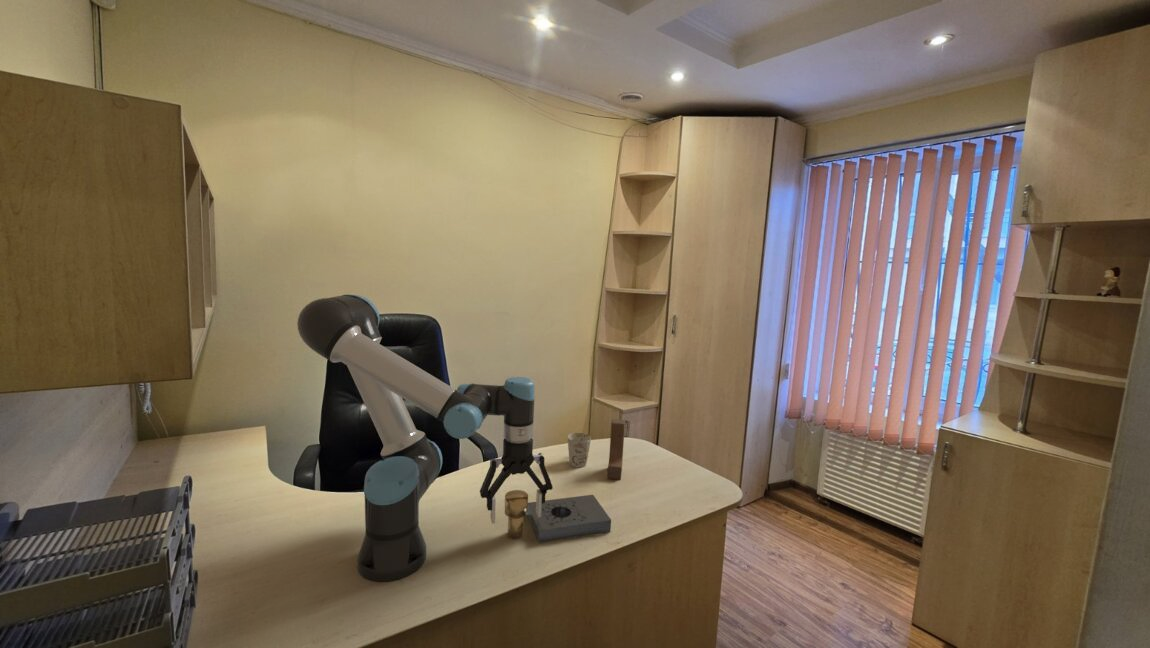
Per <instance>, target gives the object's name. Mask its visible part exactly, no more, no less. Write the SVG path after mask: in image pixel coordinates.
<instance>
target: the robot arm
mask: <svg viewBox="0 0 1150 648" xmlns="http://www.w3.org/2000/svg"><path fill="white" fill-rule="evenodd" d="M380 319H381V317H380V313H379V310H378V308H377V307H376V305H375V304H374V303H373V301H371V300H370V299H368V298H366V297H364V296H362V295H359V294H343V295H338V296H331V297H324V298H319V299H316V300H312V301H311V302H309V303H308V304H306V305H305V306H304V307H303V308H302V309H301V311H300V313H299V314H298V318H297V322H296V323H297V331H298V334H299V337H300V338H301V339H302V341H303V343H305V345H307V346H308V348H310V349H311V350H312V351H313V352H315V353H316V354H318V355H320V356H321V357H323V358H324V359H326V360H327V361H329V362H331V363H333V364H334V363H335V364H336V363H342V364H344V365H346V366H347V368H348V371H349V373H350V375H351V378H352V379H353V382H354V384H355V386H356V388H357V390H358V392H359V395H360V396H361V399H362V401H363V403H364V406H365V407H366V410H367V412H368V413H369V416H370V418H371V421H372V422H373V423H372V424H373V425H374V427H375V429H376V432H377V433H378V436H379V438H380V440H381V442H382V445H383V447H382V449H381V452H380V456H381V459H382V460H379V461H377V462H375V463H374V464H373V465H371V466H370V467H369V469H368V470H367V471H366V474H365V476H364V485H363V494H364V522H365V524H364V525H365V534H364V537H363V541H362V543H361V546H360V549H359V552H358V555H357V572H358V573H359V574H360V576H361V577H362V578H365V579H367V580H370V581H372V582H391V581H396V580H399V579H403V578H405V577H407V576H410V575H412V574H413V573H415V572H416V571H418V570H419V569H420V568H422V566H423V565H424V563H425V561H426V559H427V543H426V542H425V539H424V538H425V537H424V535H423V533H422V531H421V528H420V525H419V522H420V521H419V515H420V514H419V510H420V509H419V508H420V506H419V505H420V504H419V503H420V501H421V499H422V497H423V496H424V495H425V493H426V492H427V491H428V490H429V488H430V487H431V485H432V484H433V483H434V482H435V481H436V479H437V478H438V476H439V474H440V471H441V469H442V467H443V466H442V465H443V455H442V451H441V449H440V448H439V446H438V445H437V443H436V442H434V441H432V440H430V439H428V438H427V436H426V433H425V432H424V431H421V430H418V429H417V428H416V425H415V424H414V422H413V419H412V418H411V415H410V413H409V411H408V410H409V409H408V408H407V405H406V404H405V402H404V400H405V401H407V402H408V403H410V404H412V405H414V406H415V407H418V408H419V409H421V410H422V411H423V412H426V413H427V414H429V415H431V416H433V417H434V418H436V419H438V421H441V422H442V423H443V426H444V429H445V431H446V433H447V434H448V435H449V436H451V437H452V438H453V439H454V438H455V439H459V440H464V439H468V438H470V437H472V436H473V435H474V434H475V432H477V431H478V430H479V429H480V428H481V426H482V425H483V422H484V420H485V419H486V418H487V416H503V440H502V441H503V442H502V445H503V446H502V447H503V448H502V456H501V458H495V457H491V458H490V459H489V468H488V469H487V473H486V475H485V477H484V479H483V482H482V484H481V487H480V488H479V489H480V490H479V494H480V498H481V499H484V498H485V499H486V508H487V511H490V521H491V524H492V525H493V524H496V504H497V503H496V497H495V496H496V493H498V491H499V490H500V488H501V486H502V485H503V484H504V482H505V481H506V480H507V479H508V478H509V477H510V475H513V476H514V475H518V474H520V475H523V474H525V473H526V474H527V475H528V476H529V477H530V479H531V480H532V481H533V482H534V484H535V485H536V487H538V488H537V489H536V499H535V502H536V513H537V516H538V517H541V505H542V504H543V503H545V501H546V494H547V493H548V491H551V490H553V489H554V488H553V484H552V480H551V478H550V477H549V473H548V471H547V469H546V465H545V460H546V459H545V456H544V455H543V453H541V452H538V454H536V455H533V452H534V451H533V449H534V447H533V446H534V445H533V444H534V440H533V437H534V417H535V416H534V415H535V414H534V413H535V398H536V397H535V383H534V381H533V380H532V379H531V378H529V377H524V376H516V377H515V376H514V377H513V376H512V377H508V378H506V380H505V381H504V385H503V384H502V385H497V384H494V385H493V384H480V383H479V384H478V383H462V384H459V386H458V387H457V389H455V388H454V387H452V386H451V385H449V384H447V383H445V382H443V381H442V380H440V379H439V378H437V377H435V376H434V375H432V374H431V373H428V372H427V371H426V370H423V369H422V368H420V367H419V366H417V365H415V364H414V363H412V362H410V361H409V360H408V359H405V358H403V357H402V356H400V355H398V354H397V353H395V351H394V352H393V351H392V350H390V349H389V348H387V347H385V346H384V345H382V344H380V343H381V340H382V339H383V337H382V335H381V333H380V331H379V325H380V321H381V320H380ZM534 461H535V463H536V464H537V465H538V466H539V469H540V472H541V475H542V477H543V480H544V484H543V482H542V481H541V480H540V478H539V477H538V476H537V475H536V473H535V472H534V471H533V469H532V468H531V466H532V464H533V463H534ZM500 465H502V466H503V467H502V469H501V470H500V473H499V474H498V476H497V477H496V478H495V480H494V477H495V474H496V471H497V469H498V468H499V467H500ZM493 480H494V481H493ZM492 482H493V483H492Z"/></svg>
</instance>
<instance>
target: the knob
mask: <svg viewBox="0 0 1150 648" xmlns="http://www.w3.org/2000/svg"><path fill="white" fill-rule="evenodd" d="M528 503H529V494H528V493H527V492H526V491H525V490H521V489H514V490H510V491H507V492H506V493H505V494H504V515H505V516H506V517H508V518H507V537H508V538H509V539H511V540H519V539H522V538H523V536H524V517H525V516H527V513H528Z"/></svg>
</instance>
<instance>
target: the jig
mask: <svg viewBox="0 0 1150 648" xmlns="http://www.w3.org/2000/svg"><path fill="white" fill-rule="evenodd" d="M526 516H527V519H528V520H529V523H530V526H531V528H532V532H534V535H535V538H536V541H537V543H538V544H542V543H547V542H548V543H549V542H553V541H554V542H555V541H561V540H567V539H573V538H574V539H575V538H581V537H586V536H593V535H599V534H606V533H611V532H612V531H611V528H612V527H611V526H612V519H611V517H610V516H609V515H608V513H607V512H606V511H605V509H604V508H603V506H602V505H601V504H600V502H599V501H598V500H597V498H596V497H595V495H594V494H586V495H585V494H584V495H578V496H577V495H576V496H572V497H564V498H555V499H554V498H553V499H548V500H546V499H545V503H543V504H542V505H541V517H538V516H537V513H536V501H532V502H530V501H529V502H528V513H527V514H526Z"/></svg>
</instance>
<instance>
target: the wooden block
mask: <svg viewBox="0 0 1150 648" xmlns="http://www.w3.org/2000/svg"><path fill="white" fill-rule="evenodd" d="M625 426H626V421H625V419H618V418H612V420H611V424H610V439H609V458H608V465H607V466H608V467H607V479H610V480H611V479H612V480H622V473H623V458H624V443H625V442H624V441H625V429H626V428H625Z"/></svg>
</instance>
